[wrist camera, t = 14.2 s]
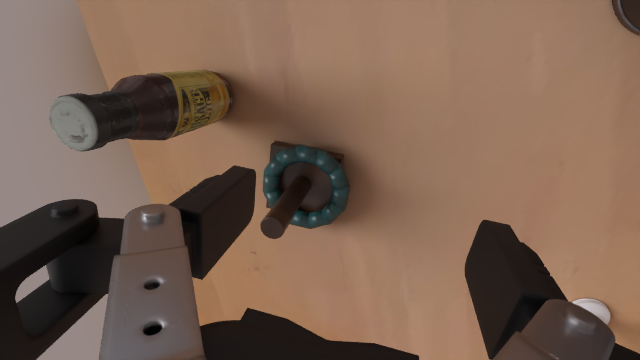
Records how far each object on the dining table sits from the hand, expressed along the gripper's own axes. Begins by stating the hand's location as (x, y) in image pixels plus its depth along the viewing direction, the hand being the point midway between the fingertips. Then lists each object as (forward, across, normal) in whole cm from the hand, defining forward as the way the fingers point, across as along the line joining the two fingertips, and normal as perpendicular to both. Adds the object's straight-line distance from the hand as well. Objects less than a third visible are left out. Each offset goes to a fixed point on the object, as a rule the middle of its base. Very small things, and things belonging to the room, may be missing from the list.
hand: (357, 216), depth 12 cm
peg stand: (+28, +8, +12) cm, 32 cm away
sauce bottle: (+28, +21, +3) cm, 35 cm away
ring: (+26, +7, +12) cm, 29 cm away
